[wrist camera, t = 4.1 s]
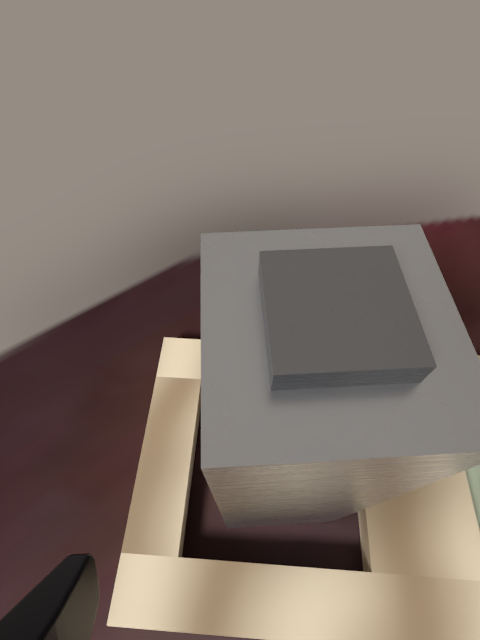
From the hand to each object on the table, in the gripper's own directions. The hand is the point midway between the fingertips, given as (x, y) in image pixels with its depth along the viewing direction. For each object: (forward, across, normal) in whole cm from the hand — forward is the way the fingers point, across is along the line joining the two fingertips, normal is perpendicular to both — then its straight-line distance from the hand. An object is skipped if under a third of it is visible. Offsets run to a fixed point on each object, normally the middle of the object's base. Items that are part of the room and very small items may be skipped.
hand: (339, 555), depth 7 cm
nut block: (+10, 0, +5) cm, 11 cm away
